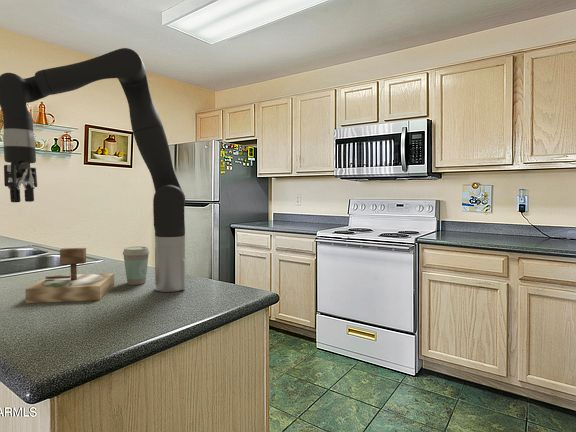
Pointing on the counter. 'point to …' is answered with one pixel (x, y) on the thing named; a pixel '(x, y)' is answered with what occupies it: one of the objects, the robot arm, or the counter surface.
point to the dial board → (70, 288)
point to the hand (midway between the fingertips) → (22, 201)
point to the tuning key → (71, 261)
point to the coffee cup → (136, 264)
